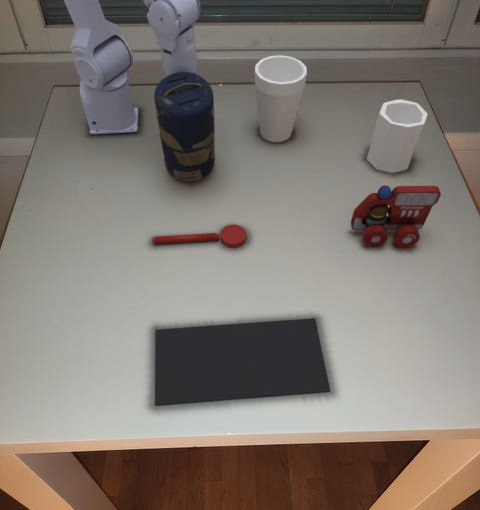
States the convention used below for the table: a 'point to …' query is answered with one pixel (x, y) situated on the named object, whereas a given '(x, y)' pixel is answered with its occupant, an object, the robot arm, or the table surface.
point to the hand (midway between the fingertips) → (187, 140)
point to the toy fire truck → (394, 214)
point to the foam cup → (278, 95)
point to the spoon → (209, 237)
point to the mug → (396, 135)
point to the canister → (186, 125)
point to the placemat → (238, 361)
